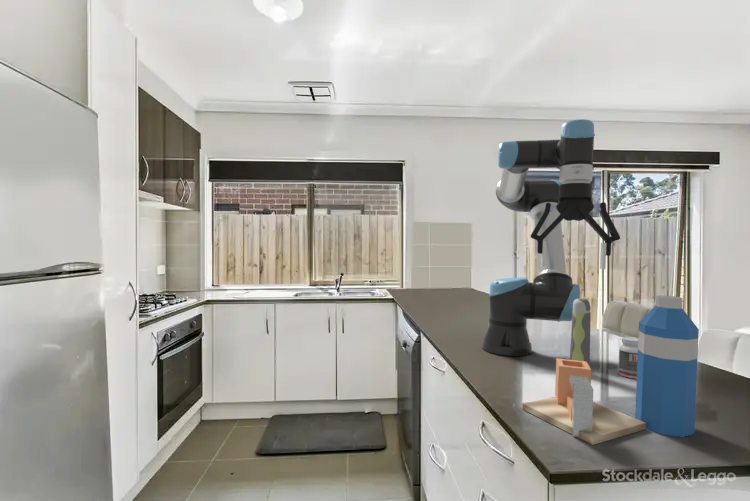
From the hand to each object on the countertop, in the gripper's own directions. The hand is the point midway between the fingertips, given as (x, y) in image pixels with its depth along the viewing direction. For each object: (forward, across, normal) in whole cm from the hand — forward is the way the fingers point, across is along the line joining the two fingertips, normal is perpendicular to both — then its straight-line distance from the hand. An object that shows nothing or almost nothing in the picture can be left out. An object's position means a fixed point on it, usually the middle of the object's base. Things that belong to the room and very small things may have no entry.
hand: (572, 267), depth 103 cm
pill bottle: (+29, +16, +11) cm, 35 cm away
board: (+29, 0, -24) cm, 38 cm away
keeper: (+29, -1, -29) cm, 41 cm away
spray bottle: (+29, +4, +8) cm, 30 cm away
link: (+27, -1, -22) cm, 35 cm away
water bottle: (+29, +14, -22) cm, 39 cm away
